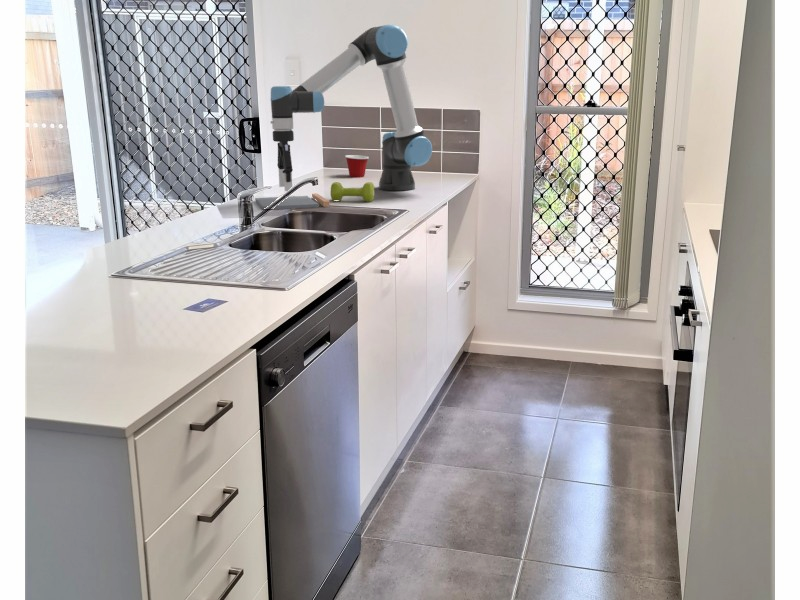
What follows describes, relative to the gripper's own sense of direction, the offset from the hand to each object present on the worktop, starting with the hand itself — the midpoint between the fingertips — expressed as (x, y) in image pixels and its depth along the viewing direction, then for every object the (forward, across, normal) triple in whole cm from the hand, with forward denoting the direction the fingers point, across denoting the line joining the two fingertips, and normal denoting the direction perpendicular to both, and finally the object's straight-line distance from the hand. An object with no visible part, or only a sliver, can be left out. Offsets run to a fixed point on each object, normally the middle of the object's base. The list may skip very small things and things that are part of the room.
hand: (285, 188), depth 290 cm
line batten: (+6, 0, +13) cm, 14 cm away
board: (+6, 0, 0) cm, 6 cm away
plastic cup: (+6, -61, +42) cm, 74 cm away
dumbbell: (+6, 0, +25) cm, 26 cm away
